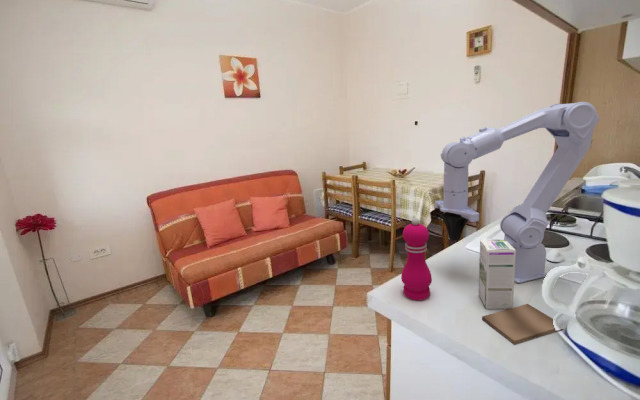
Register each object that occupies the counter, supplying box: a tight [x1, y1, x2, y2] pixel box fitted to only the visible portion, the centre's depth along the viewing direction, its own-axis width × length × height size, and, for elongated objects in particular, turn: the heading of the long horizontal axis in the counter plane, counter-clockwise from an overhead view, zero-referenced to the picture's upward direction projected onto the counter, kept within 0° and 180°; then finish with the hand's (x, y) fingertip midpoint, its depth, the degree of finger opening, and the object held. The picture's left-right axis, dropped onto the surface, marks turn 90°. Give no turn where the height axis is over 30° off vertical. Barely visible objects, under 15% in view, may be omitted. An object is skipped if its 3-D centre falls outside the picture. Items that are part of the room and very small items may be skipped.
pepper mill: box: [400, 217, 433, 301], centre depth 74 cm, size 7×7×20 cm
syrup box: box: [478, 239, 516, 311], centre depth 68 cm, size 6×6×14 cm
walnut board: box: [481, 303, 556, 345], centre depth 62 cm, size 12×8×1 cm, turn 105°
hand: (454, 239), depth 81 cm, fingers closed
